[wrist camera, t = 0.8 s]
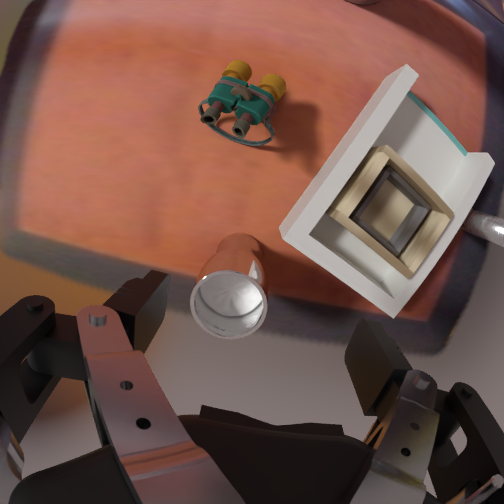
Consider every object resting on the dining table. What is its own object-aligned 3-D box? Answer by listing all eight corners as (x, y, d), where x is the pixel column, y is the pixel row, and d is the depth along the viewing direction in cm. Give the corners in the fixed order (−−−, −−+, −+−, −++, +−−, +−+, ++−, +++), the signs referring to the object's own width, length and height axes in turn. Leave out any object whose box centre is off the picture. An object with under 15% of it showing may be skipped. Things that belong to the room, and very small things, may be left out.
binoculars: (276, 130, 36) (302, 79, 27) (250, 184, 34) (274, 134, 24) (212, 103, 35) (223, 47, 26) (178, 152, 33) (179, 95, 23)
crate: (368, 147, 33) (387, 144, 27) (429, 206, 34) (454, 213, 29) (323, 211, 35) (335, 219, 29) (389, 264, 37) (408, 279, 31)
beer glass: (202, 250, 39) (171, 297, 24) (244, 218, 38) (235, 250, 23) (234, 289, 40) (222, 353, 26) (276, 260, 39) (286, 314, 25)
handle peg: (458, 202, 36) (511, 216, 24) (469, 215, 36) (520, 232, 25) (448, 219, 37) (499, 238, 25) (459, 232, 37) (509, 254, 26)
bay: (385, 77, 31) (406, 63, 25) (468, 161, 34) (495, 163, 28) (278, 227, 38) (282, 239, 31) (376, 297, 40) (393, 318, 34)
